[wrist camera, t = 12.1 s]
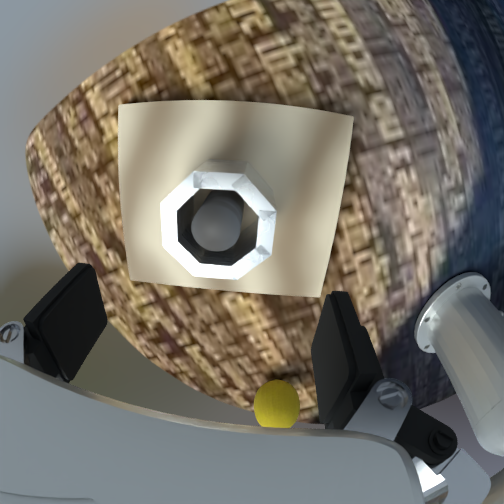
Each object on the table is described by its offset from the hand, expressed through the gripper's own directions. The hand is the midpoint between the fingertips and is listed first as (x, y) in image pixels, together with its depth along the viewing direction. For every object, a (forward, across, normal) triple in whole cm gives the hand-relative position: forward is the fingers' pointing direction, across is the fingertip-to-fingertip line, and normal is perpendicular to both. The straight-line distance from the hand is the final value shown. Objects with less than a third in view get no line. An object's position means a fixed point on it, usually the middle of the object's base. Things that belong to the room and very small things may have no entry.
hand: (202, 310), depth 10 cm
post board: (+14, +1, 0) cm, 14 cm away
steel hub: (+12, +1, 0) cm, 12 cm away
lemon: (+14, -6, +23) cm, 28 cm away
